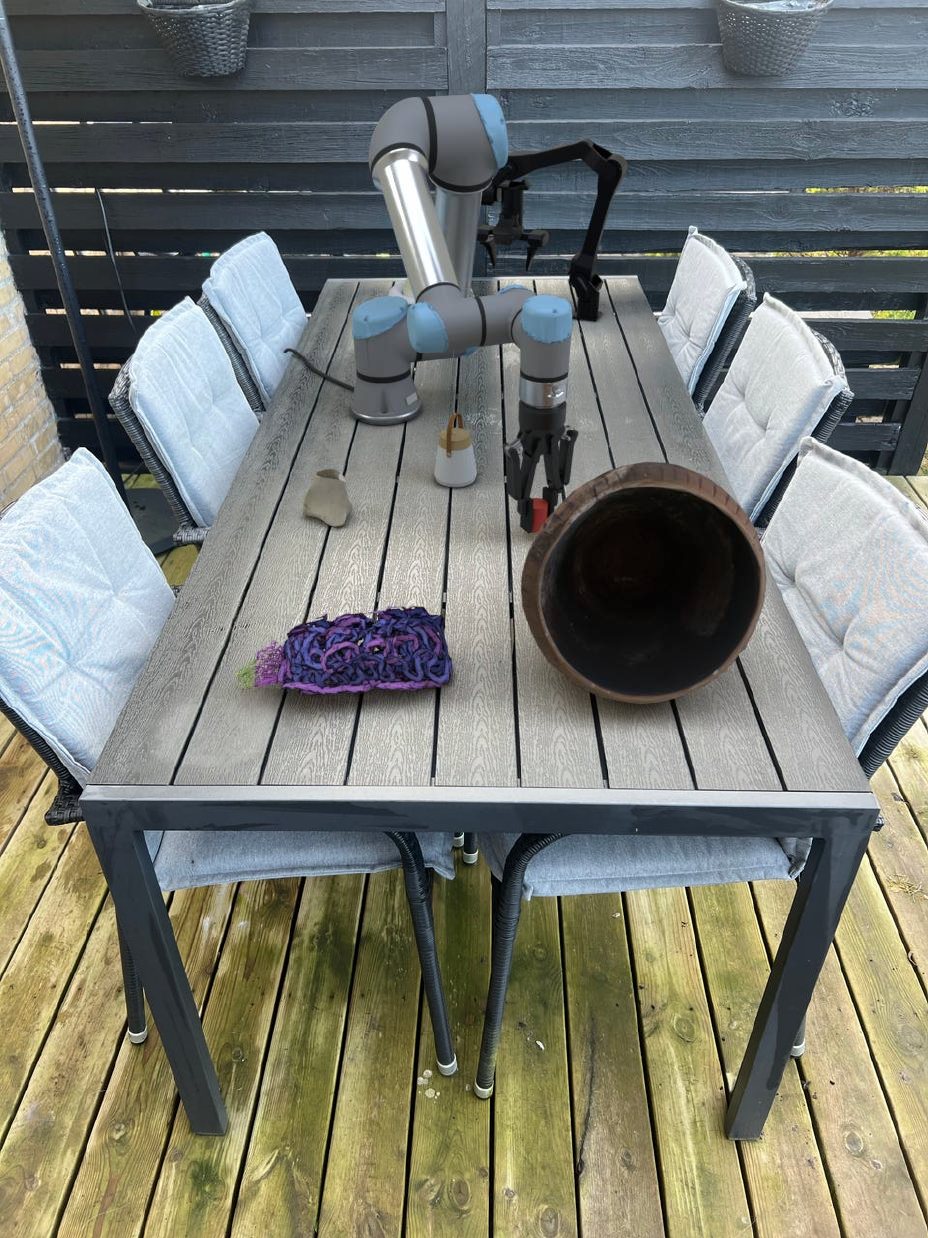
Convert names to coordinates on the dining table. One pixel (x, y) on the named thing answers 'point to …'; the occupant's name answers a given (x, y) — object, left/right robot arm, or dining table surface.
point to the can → (539, 513)
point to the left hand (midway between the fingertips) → (536, 526)
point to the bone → (327, 498)
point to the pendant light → (455, 454)
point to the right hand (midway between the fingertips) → (510, 269)
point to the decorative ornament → (358, 654)
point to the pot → (644, 583)
